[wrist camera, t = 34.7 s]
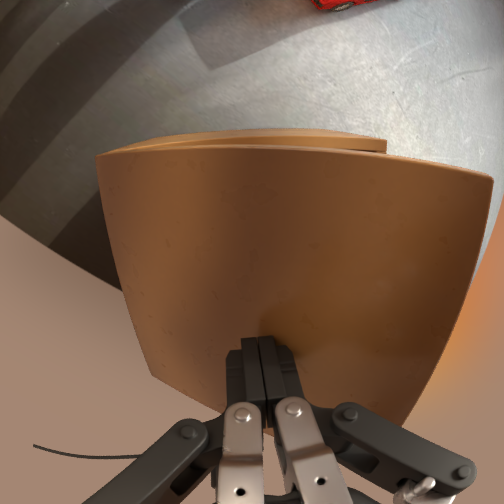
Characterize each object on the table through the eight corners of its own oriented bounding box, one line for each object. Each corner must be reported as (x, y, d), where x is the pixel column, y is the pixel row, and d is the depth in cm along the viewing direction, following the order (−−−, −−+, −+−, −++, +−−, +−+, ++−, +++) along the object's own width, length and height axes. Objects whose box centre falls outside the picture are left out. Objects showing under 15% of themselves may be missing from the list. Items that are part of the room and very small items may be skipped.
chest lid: (487, 173, 7) (494, 178, 6) (375, 457, 14) (371, 468, 14) (106, 152, 15) (94, 155, 14) (158, 369, 23) (151, 375, 22)
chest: (321, 129, 29) (387, 139, 16) (316, 273, 37) (356, 350, 24) (155, 137, 28) (103, 153, 15) (175, 284, 35) (155, 368, 23)
